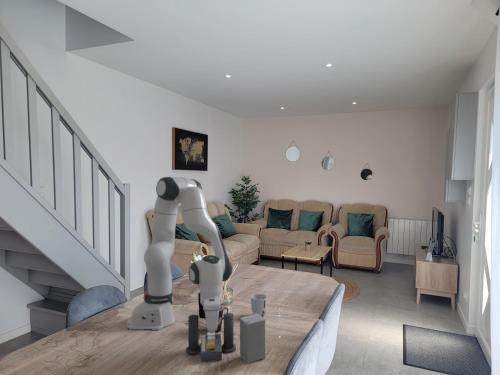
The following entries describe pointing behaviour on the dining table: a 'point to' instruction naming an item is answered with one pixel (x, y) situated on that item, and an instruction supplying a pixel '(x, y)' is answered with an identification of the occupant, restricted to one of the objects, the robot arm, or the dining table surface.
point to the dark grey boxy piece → (212, 353)
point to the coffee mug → (220, 319)
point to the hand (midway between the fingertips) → (211, 332)
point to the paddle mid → (211, 339)
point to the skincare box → (252, 338)
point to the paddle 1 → (210, 334)
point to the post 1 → (193, 335)
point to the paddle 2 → (210, 345)
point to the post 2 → (228, 334)
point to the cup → (259, 304)
